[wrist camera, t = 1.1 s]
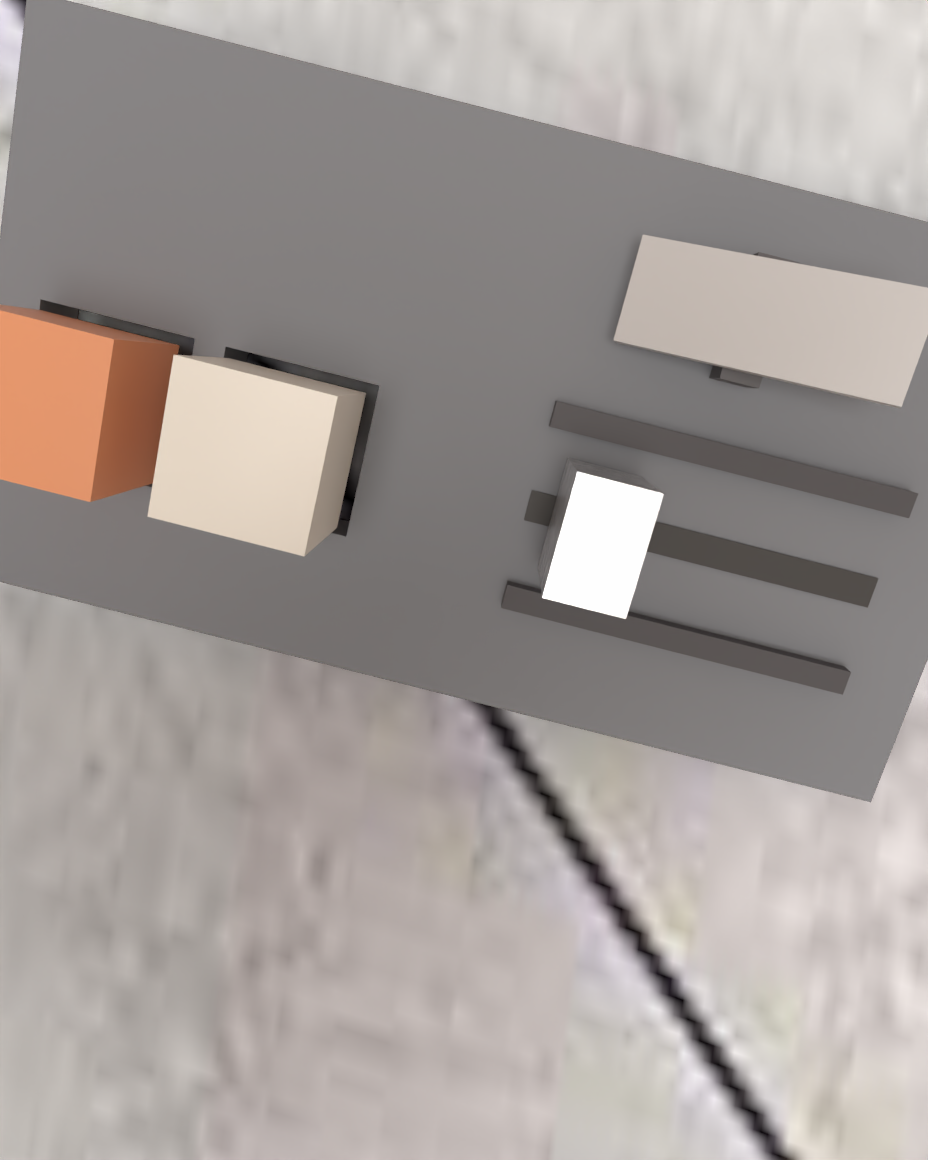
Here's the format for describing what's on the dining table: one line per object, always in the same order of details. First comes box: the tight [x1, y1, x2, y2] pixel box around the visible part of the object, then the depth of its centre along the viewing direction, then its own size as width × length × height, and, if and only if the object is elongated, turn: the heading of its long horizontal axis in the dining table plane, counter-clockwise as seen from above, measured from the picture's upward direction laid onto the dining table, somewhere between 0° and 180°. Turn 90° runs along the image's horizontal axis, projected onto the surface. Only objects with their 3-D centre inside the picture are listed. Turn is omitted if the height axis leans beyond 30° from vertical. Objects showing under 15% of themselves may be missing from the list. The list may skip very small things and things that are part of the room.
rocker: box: [614, 235, 928, 408], centre depth 24 cm, size 8×3×1 cm, turn 76°
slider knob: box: [538, 458, 664, 619], centre depth 26 cm, size 2×4×4 cm, turn 166°
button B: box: [147, 355, 366, 556], centre depth 25 cm, size 4×4×5 cm
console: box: [0, 0, 928, 802], centre depth 28 cm, size 32×18×4 cm, turn 76°
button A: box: [0, 305, 179, 502], centre depth 25 cm, size 4×4×5 cm
